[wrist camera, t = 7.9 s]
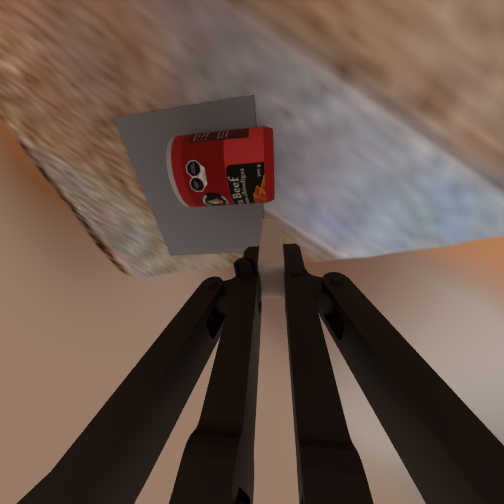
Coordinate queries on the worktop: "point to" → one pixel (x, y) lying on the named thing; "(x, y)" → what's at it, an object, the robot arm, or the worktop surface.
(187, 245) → the rubber mat
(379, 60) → the worktop surface
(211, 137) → the canned food
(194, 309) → the robot arm
